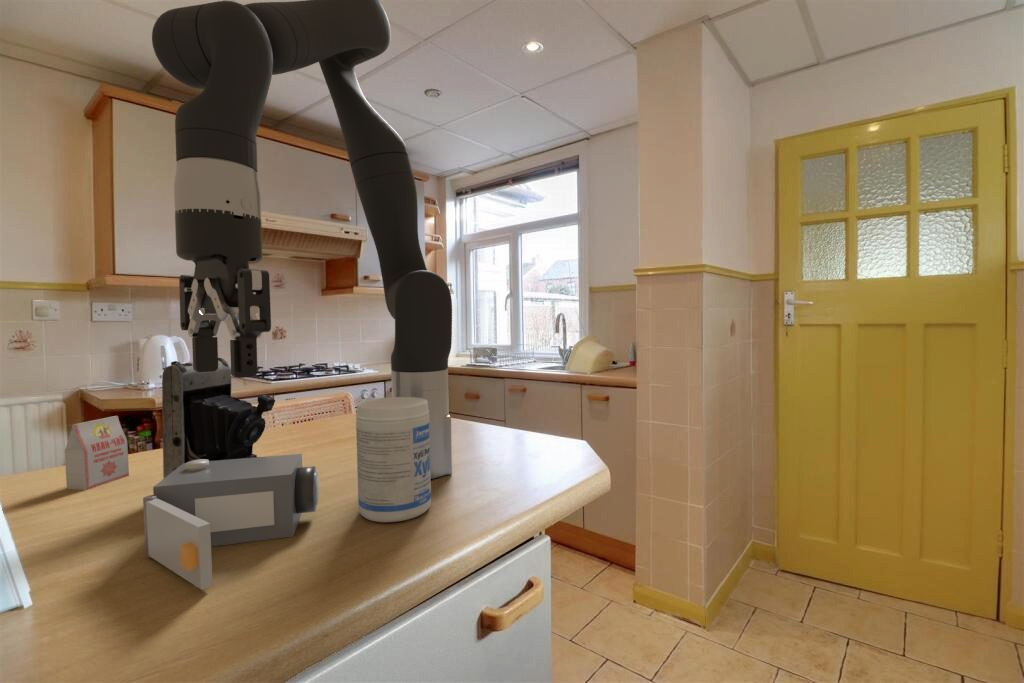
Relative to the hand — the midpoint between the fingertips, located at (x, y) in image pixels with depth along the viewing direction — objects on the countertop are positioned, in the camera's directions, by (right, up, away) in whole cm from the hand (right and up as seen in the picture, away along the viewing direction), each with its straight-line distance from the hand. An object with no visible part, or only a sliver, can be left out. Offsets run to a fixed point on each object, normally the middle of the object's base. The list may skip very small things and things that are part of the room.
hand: (224, 374), depth 50 cm
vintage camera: (-12, -19, +23) cm, 33 cm away
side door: (-5, -20, -1) cm, 21 cm away
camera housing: (-3, -20, +10) cm, 22 cm away
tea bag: (-37, -19, +28) cm, 50 cm away
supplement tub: (+14, -19, +15) cm, 28 cm away
